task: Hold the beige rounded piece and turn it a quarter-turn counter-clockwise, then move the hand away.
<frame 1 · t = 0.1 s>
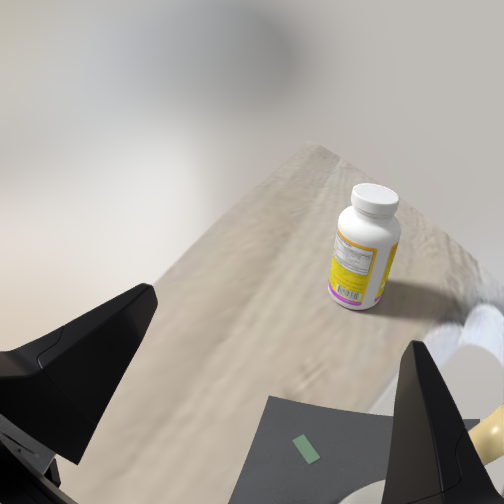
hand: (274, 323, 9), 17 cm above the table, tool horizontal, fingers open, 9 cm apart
supplement bottle: (353, 293, 34), on the table
beige rounded piece: (432, 497, 9), point 7 cm above the table, hinge at 0.0°
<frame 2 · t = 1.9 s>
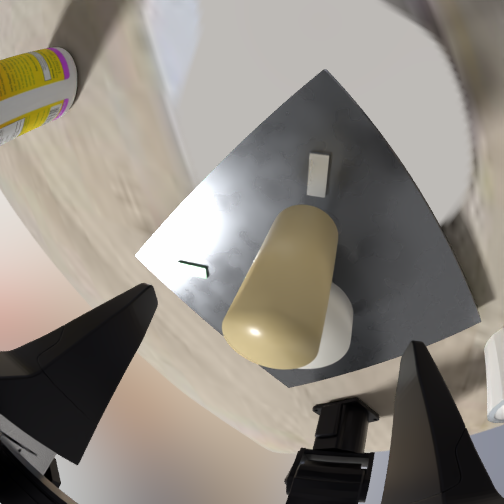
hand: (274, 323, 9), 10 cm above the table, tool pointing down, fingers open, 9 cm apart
supplement bottle: (59, 81, 18), on the table
beige rounded piece: (287, 335, 14), point 7 cm above the table, hinge at 0.0°
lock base: (308, 278, 21), on the table
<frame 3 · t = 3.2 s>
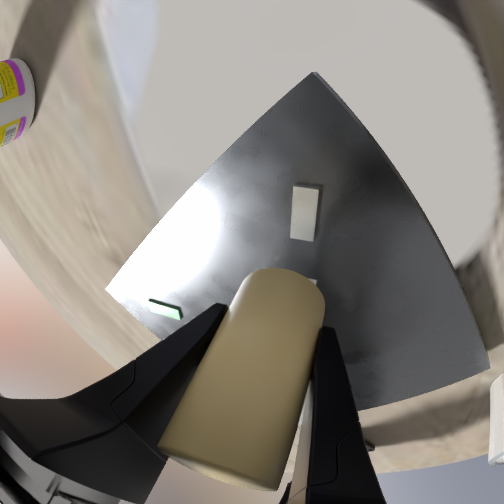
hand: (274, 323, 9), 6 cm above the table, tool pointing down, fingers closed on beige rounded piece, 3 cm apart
supplement bottle: (20, 95, 15), on the table
beige rounded piece: (262, 410, 11), point 7 cm above the table, hinge at 0.1°, touching gripper
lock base: (295, 322, 18), on the table
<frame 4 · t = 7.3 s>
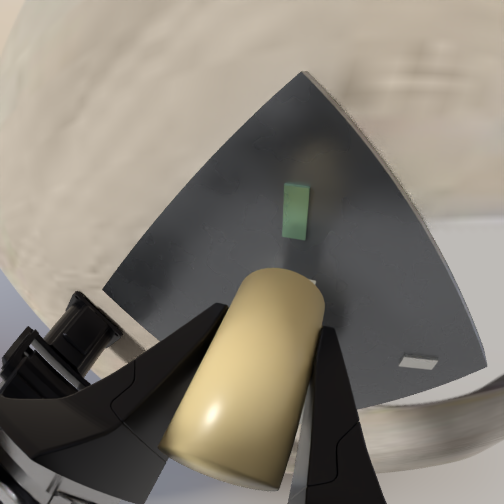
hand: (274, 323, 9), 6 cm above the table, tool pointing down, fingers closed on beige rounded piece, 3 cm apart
beige rounded piece: (257, 409, 11), point 7 cm above the table, hinge at 87.6°, touching gripper
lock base: (290, 321, 18), on the table
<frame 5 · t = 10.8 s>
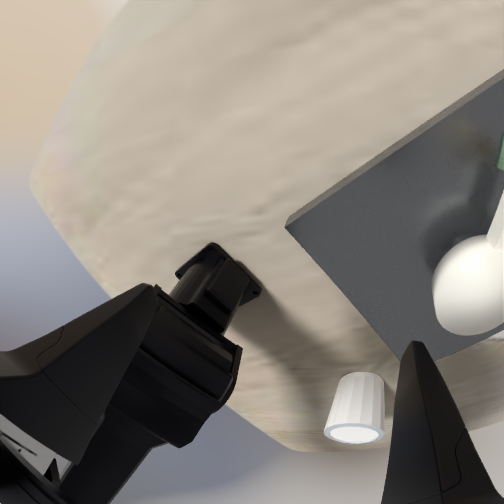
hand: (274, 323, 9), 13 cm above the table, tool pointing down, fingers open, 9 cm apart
shot glass: (361, 382, 31), on the table
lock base: (464, 249, 18), on the table
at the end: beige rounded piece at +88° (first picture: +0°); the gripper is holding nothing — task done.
